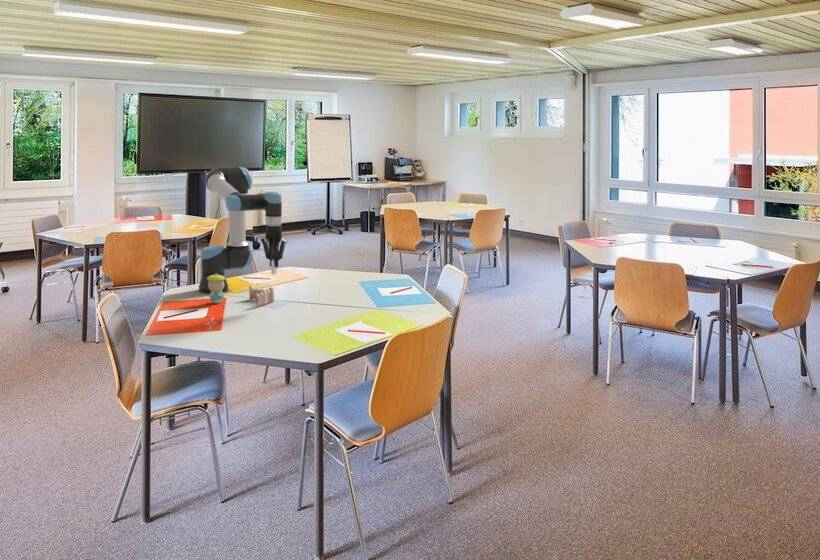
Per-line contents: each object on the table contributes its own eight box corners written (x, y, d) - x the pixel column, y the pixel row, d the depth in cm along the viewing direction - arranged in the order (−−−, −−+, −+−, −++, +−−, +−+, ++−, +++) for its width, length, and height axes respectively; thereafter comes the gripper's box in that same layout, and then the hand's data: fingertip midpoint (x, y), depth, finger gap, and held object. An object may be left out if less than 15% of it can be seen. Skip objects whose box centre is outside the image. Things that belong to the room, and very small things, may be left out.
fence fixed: (275, 302, 331) (274, 287, 330) (272, 303, 329) (272, 288, 328) (251, 299, 336) (250, 284, 335) (248, 300, 334) (247, 285, 332)
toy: (217, 300, 332) (215, 271, 329) (229, 303, 327) (228, 273, 324) (204, 303, 326) (202, 273, 323) (216, 306, 321) (215, 275, 318)
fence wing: (269, 301, 329) (268, 289, 328) (270, 301, 329) (270, 290, 328) (256, 306, 320) (256, 294, 318) (258, 306, 319) (258, 294, 318)
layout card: (242, 305, 324) (242, 304, 324) (258, 299, 337) (258, 298, 337) (277, 309, 318) (277, 308, 317) (292, 303, 330) (292, 302, 330)
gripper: (257, 224, 312) (258, 273, 318) (281, 227, 308) (282, 276, 314) (265, 222, 319) (266, 270, 325) (289, 225, 315) (290, 273, 320)
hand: (274, 273), depth 319 cm, fingers closed
